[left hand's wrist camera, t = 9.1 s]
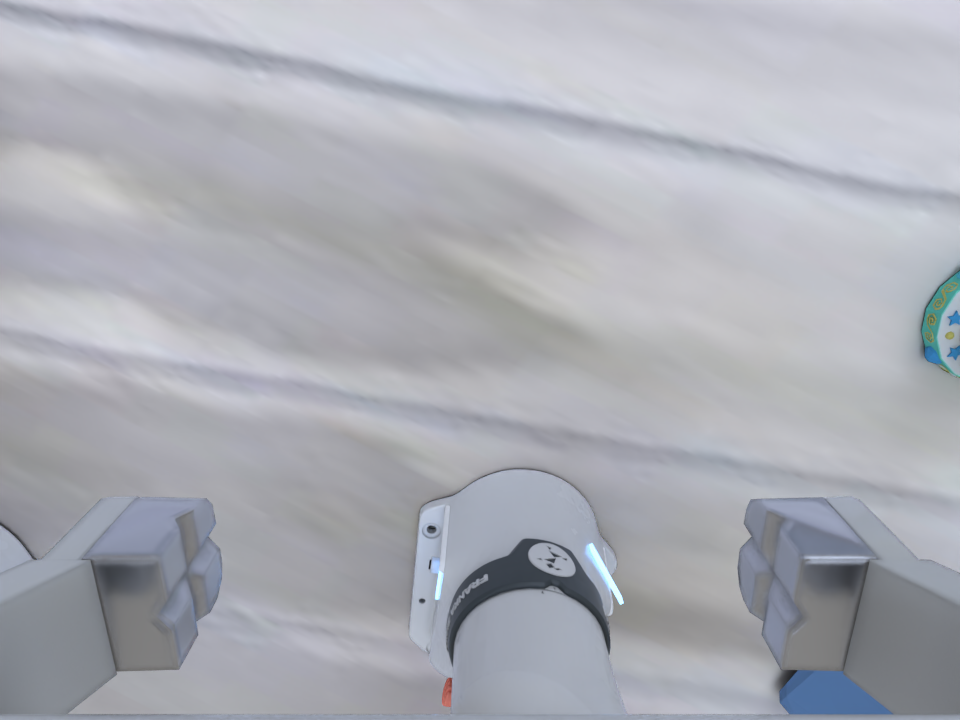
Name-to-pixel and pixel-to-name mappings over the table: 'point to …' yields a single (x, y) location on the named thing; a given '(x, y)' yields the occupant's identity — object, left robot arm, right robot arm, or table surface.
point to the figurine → (827, 695)
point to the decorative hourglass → (944, 327)
